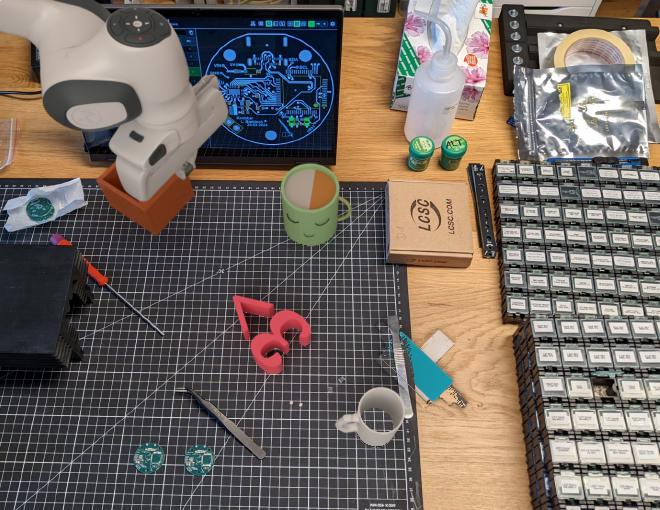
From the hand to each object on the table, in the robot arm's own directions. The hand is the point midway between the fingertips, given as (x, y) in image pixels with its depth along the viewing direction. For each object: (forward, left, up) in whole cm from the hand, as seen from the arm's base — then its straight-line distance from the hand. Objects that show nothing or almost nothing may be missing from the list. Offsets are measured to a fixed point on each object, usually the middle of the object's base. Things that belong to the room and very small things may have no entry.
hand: (186, 172), depth 98 cm
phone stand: (+46, +1, -20) cm, 50 cm away
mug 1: (+16, +13, -20) cm, 29 cm away
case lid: (-8, 0, -5) cm, 9 cm away
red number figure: (+21, -10, -20) cm, 31 cm away
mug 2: (+44, -14, -20) cm, 50 cm away
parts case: (-13, 0, -20) cm, 24 cm away
